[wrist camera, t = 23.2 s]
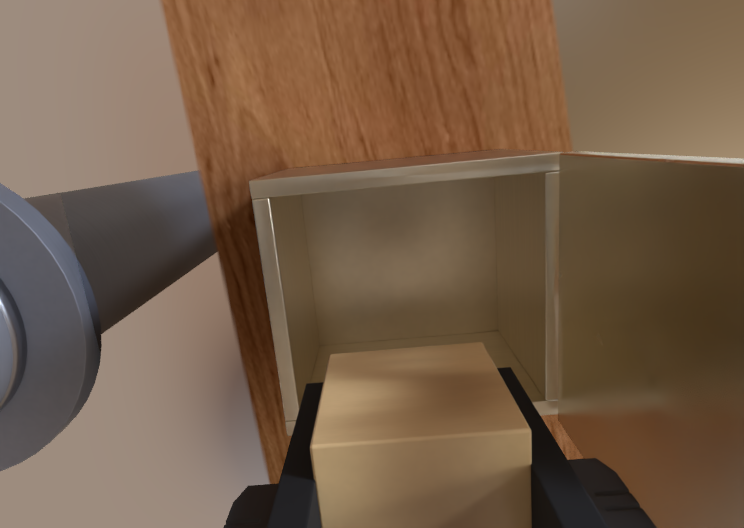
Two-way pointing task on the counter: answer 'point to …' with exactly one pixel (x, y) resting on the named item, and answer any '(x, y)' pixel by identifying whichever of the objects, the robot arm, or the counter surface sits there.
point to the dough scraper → (655, 328)
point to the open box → (413, 262)
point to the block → (420, 442)
